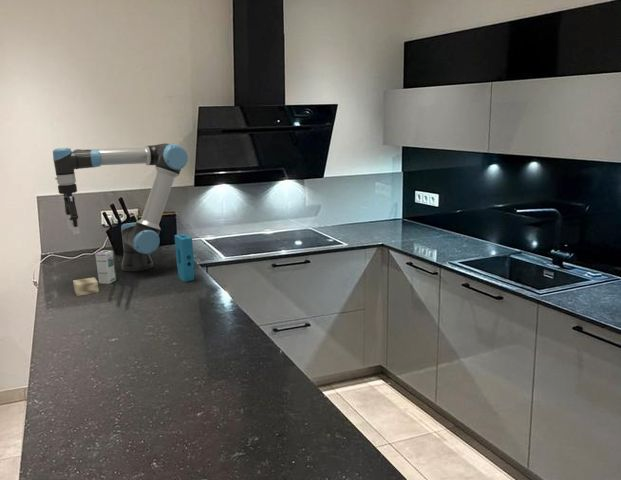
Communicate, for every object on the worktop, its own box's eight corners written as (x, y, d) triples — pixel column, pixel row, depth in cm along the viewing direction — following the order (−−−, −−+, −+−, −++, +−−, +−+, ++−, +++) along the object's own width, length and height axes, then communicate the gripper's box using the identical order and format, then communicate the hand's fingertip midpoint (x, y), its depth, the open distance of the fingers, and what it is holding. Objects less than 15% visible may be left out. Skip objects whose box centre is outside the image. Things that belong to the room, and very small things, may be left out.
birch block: (95, 287, 259) (94, 277, 258) (98, 293, 252) (97, 282, 250) (74, 291, 255) (73, 280, 254) (77, 296, 247) (75, 285, 246)
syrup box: (110, 283, 264) (106, 253, 261) (98, 283, 265) (94, 252, 262) (116, 280, 269) (113, 250, 266) (105, 279, 270) (101, 249, 267)
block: (177, 276, 272) (173, 235, 268) (187, 274, 275) (184, 233, 270) (185, 282, 262) (181, 239, 258) (195, 280, 265) (192, 238, 260)
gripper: (54, 182, 261) (61, 228, 266) (61, 187, 240) (69, 237, 245) (71, 180, 265) (78, 225, 270) (80, 185, 243) (87, 234, 248)
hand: (74, 231), depth 257 cm, fingers open, 13 cm apart
